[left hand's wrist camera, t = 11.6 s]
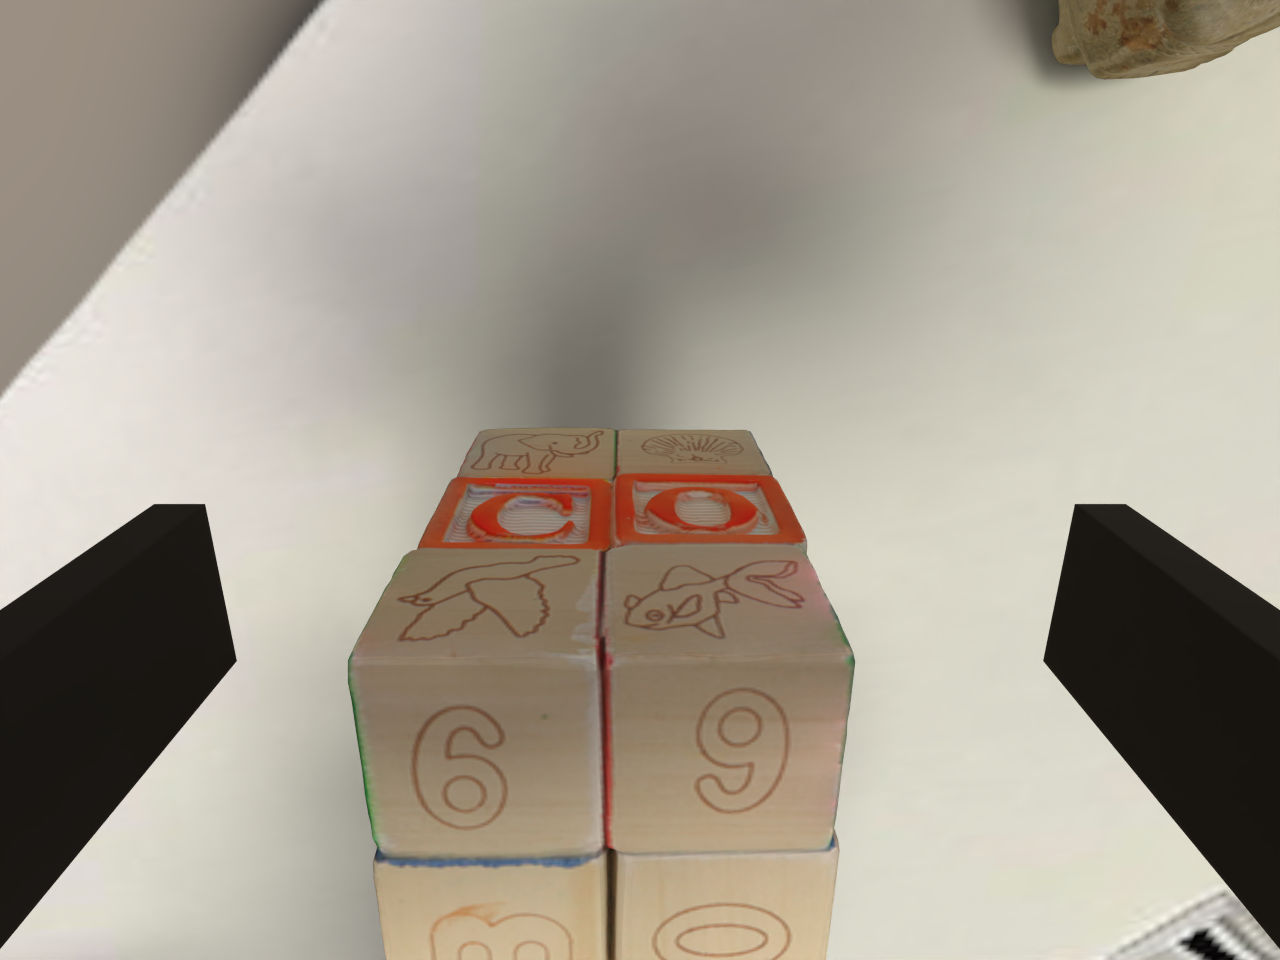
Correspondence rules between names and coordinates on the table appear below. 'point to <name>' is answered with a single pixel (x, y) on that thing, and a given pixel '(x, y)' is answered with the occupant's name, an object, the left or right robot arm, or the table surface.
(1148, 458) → the table surface
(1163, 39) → the sculpture
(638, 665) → the stack of blocks
